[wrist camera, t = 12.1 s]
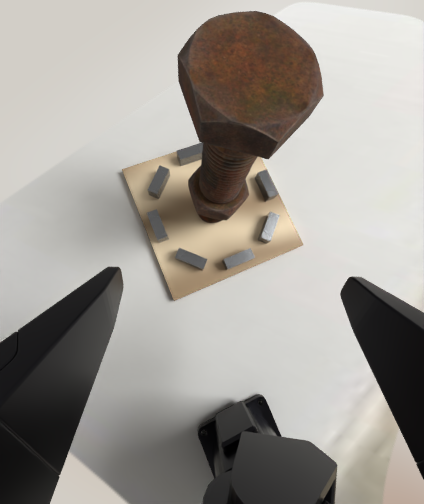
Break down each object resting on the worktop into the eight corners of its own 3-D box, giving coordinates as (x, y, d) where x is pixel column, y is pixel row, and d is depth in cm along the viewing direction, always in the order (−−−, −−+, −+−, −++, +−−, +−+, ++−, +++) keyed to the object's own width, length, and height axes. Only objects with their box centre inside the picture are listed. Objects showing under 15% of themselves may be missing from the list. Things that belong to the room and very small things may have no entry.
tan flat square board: (300, 246, 24) (303, 245, 23) (174, 300, 22) (174, 300, 21) (245, 132, 26) (247, 128, 25) (123, 172, 24) (121, 169, 23)
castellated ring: (294, 241, 23) (300, 238, 22) (178, 290, 21) (177, 290, 20) (243, 135, 25) (246, 128, 24) (131, 173, 23) (128, 166, 22)
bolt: (245, 229, 23) (345, 120, 8) (197, 243, 22) (215, 151, 8) (226, 177, 24) (288, -7, 9) (179, 189, 23) (165, 10, 8)
